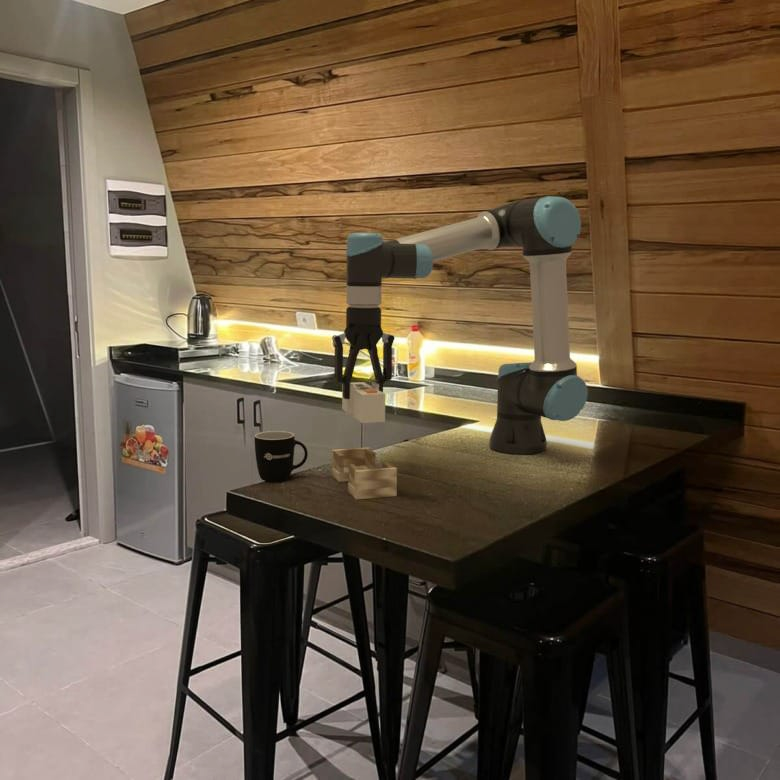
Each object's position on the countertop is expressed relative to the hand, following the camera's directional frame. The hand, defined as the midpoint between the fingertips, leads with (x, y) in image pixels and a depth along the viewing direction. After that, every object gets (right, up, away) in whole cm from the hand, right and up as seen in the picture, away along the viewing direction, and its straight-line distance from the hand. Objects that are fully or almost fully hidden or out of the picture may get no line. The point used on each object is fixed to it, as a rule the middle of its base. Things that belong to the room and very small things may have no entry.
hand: (362, 412), depth 174 cm
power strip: (0, -1, 0) cm, 1 cm away
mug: (-19, -15, +8) cm, 26 cm away
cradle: (0, -16, +3) cm, 16 cm away
